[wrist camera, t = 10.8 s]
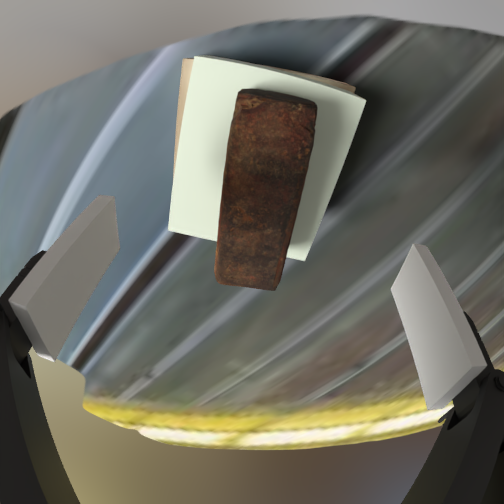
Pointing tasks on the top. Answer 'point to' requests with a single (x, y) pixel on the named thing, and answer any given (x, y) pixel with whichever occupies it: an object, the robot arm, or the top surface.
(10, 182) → the top surface
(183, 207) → the top block
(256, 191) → the brick
